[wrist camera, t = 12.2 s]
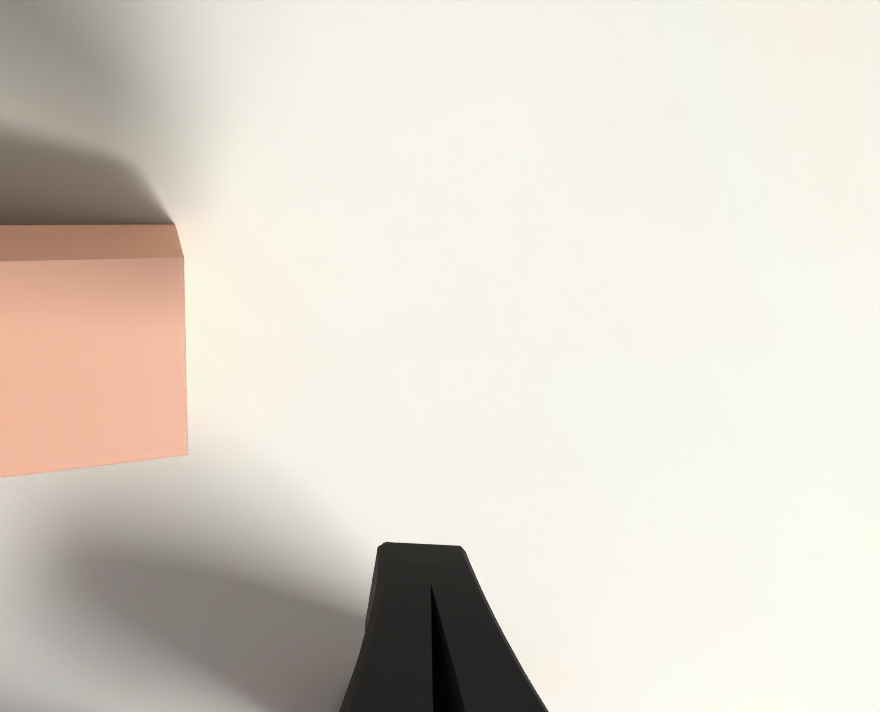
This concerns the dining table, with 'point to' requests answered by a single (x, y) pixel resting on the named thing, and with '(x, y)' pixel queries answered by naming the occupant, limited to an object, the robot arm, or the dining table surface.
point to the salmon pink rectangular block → (91, 346)
